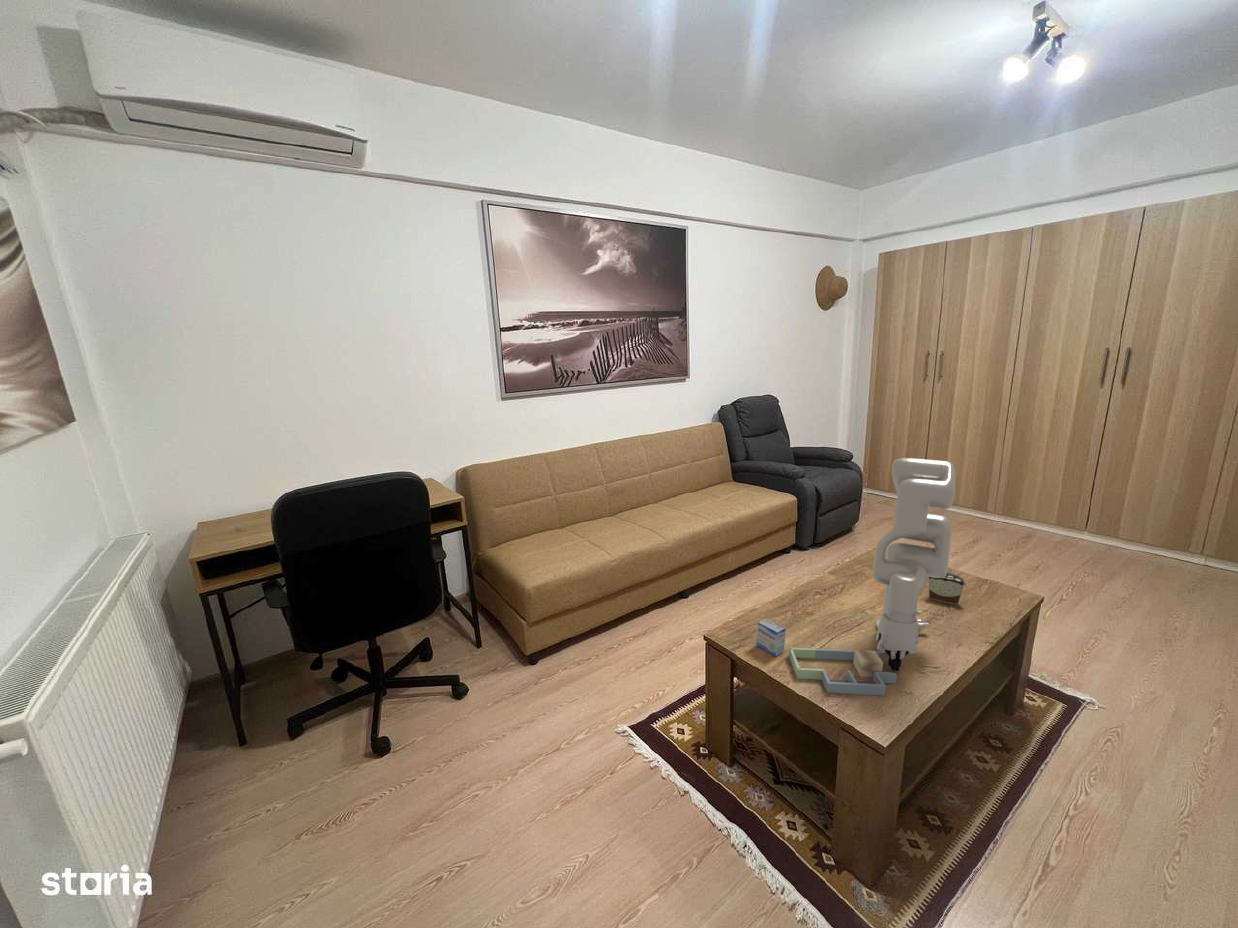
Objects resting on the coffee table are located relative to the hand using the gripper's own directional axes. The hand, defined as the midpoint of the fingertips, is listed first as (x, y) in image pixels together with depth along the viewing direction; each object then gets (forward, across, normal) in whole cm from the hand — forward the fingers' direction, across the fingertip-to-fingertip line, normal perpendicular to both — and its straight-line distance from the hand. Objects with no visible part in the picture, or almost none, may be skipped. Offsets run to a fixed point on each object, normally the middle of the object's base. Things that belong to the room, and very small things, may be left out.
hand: (893, 668), depth 148 cm
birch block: (+1, +8, 0) cm, 8 cm away
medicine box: (+1, +35, -9) cm, 36 cm away
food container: (+1, -38, -47) cm, 60 cm away
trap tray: (+1, +16, +3) cm, 16 cm away
